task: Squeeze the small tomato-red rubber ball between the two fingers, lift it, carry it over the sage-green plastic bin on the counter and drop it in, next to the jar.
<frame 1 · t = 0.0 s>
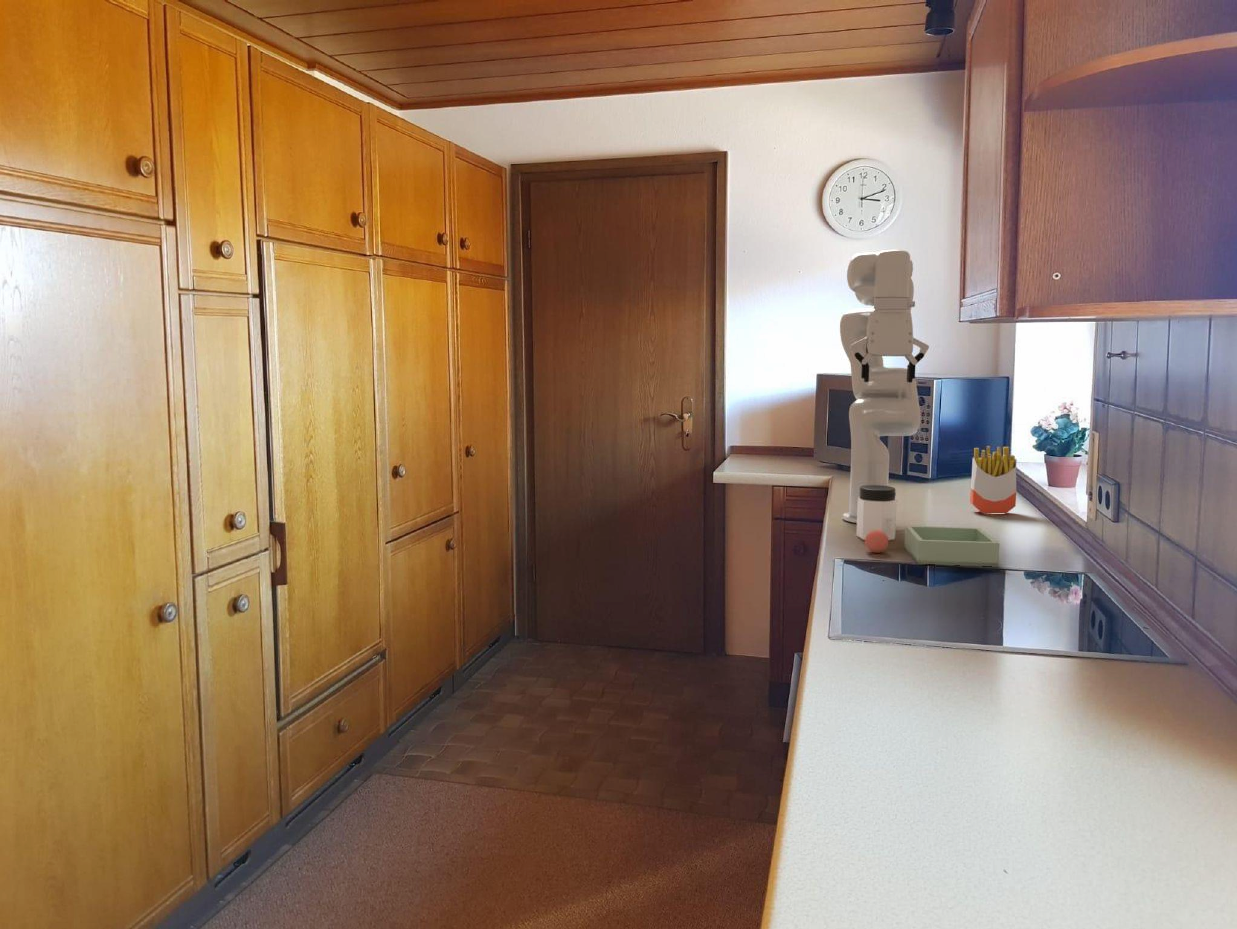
hand: (887, 382, 213), 37 cm above the countertop, tool pointing down, fingers open, 9 cm apart
tomato ball: (876, 541, 204), point 2 cm above the countertop
french fries container: (992, 513, 252), on the countertop
jar: (875, 538, 220), on the countertop
green bin: (949, 556, 200), on the countertop
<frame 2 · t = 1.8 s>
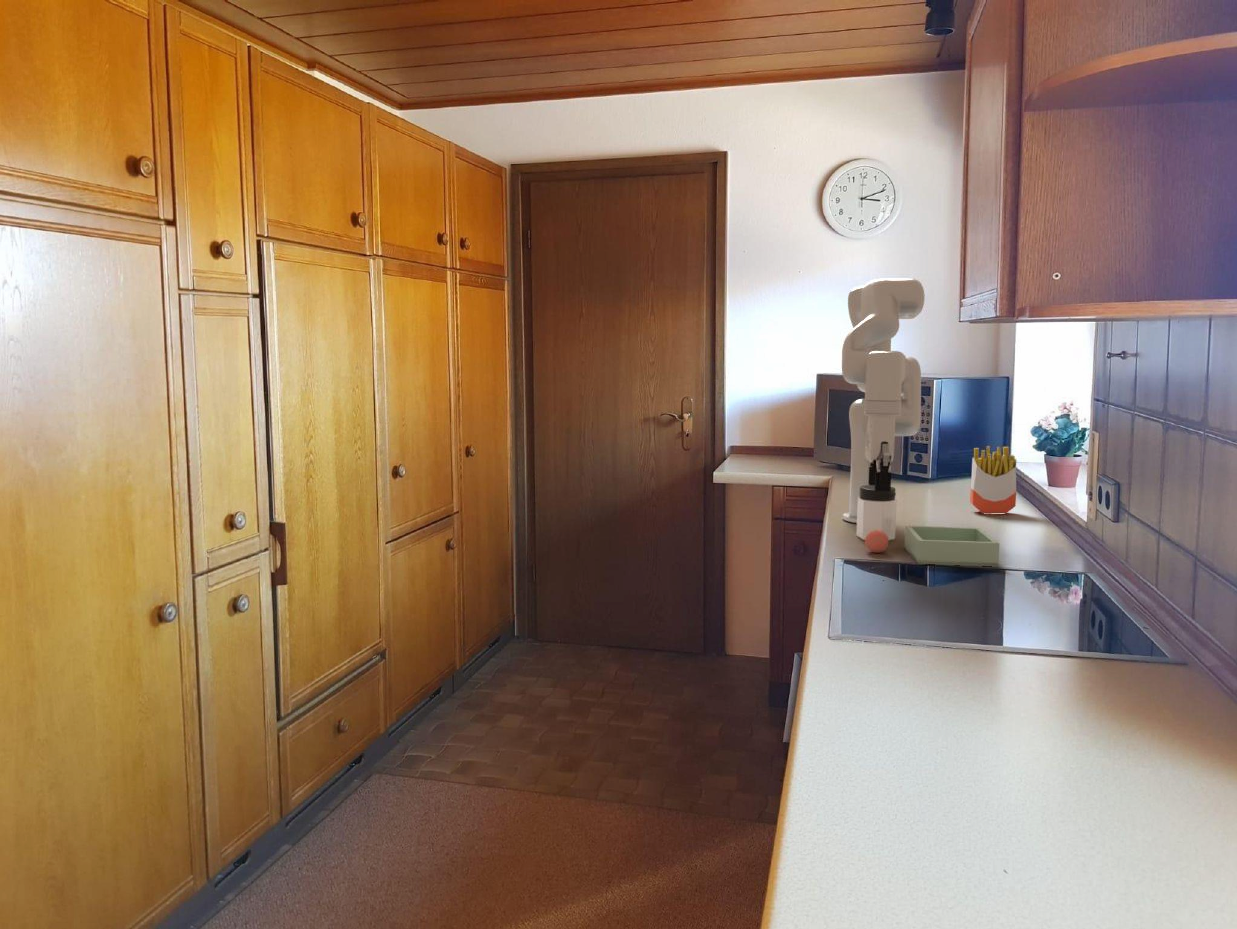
hand: (879, 487, 202), 14 cm above the countertop, tool pointing down, fingers open, 9 cm apart
nothing on the countertop moved.
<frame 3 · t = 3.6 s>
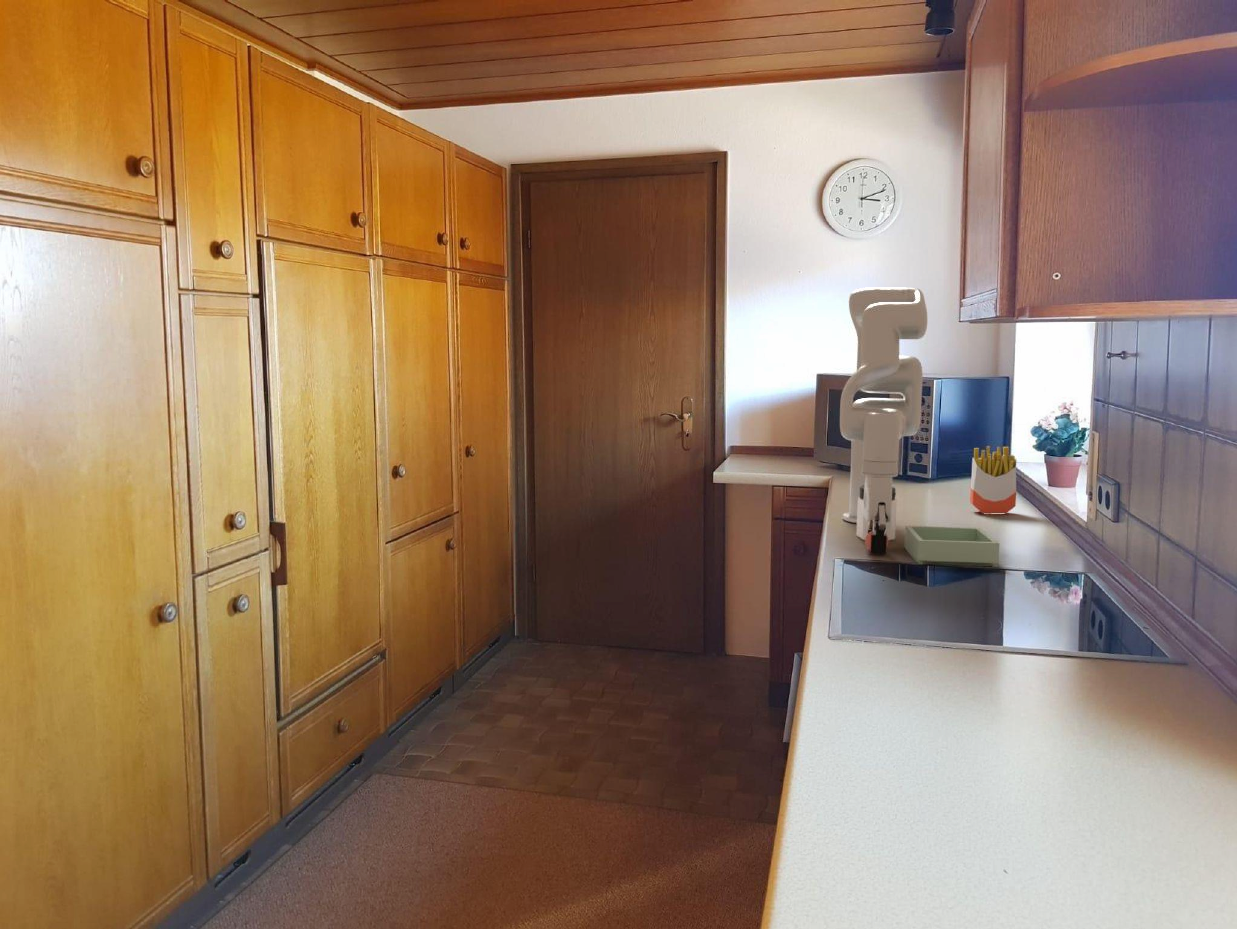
hand: (876, 549, 204), 1 cm above the countertop, tool pointing down, fingers closed on tomato ball, 4 cm apart
tomato ball: (876, 541, 204), point 2 cm above the countertop, touching gripper
everything else where it was.
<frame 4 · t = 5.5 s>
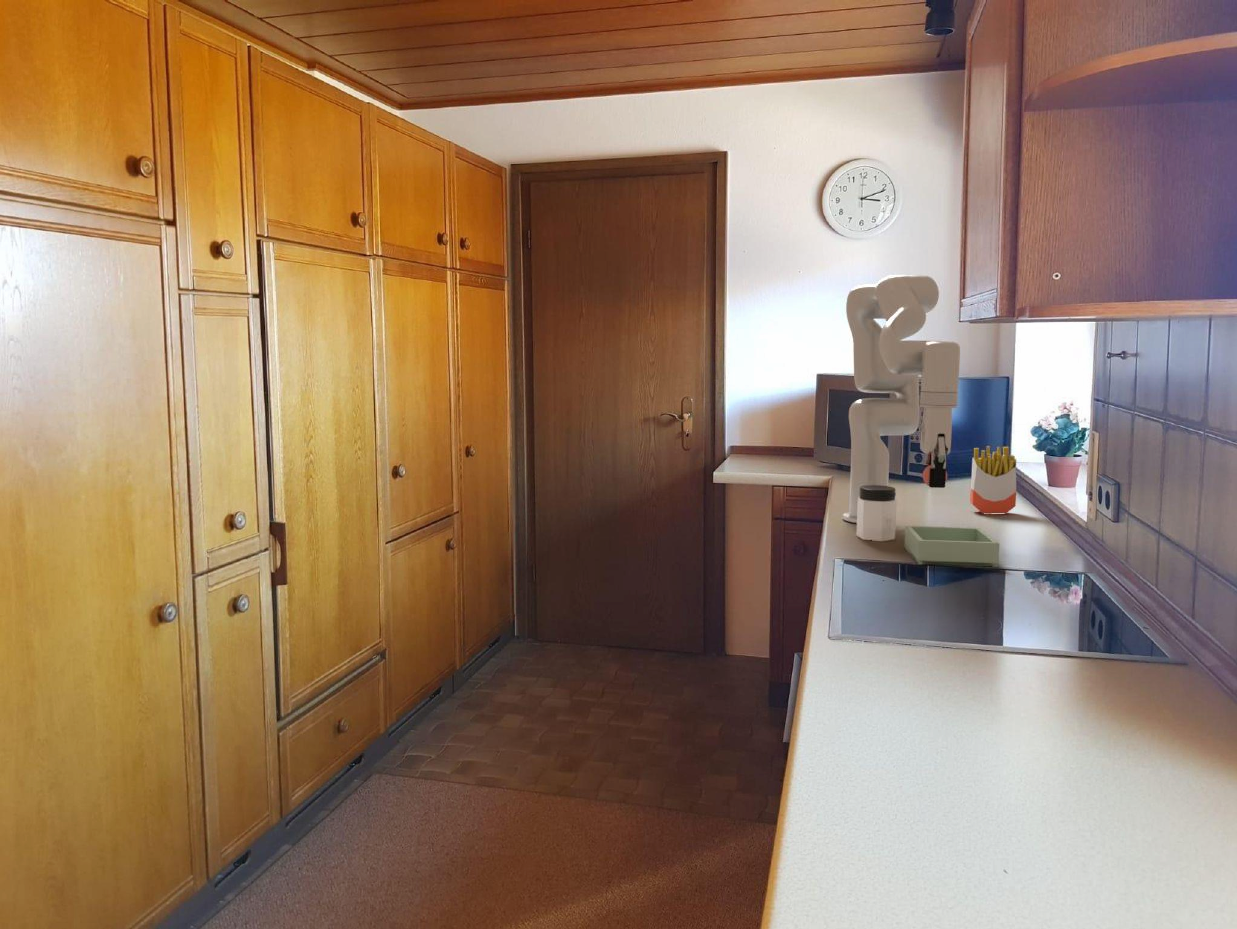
hand: (934, 484, 199), 16 cm above the countertop, tool pointing down, fingers closed on tomato ball, 4 cm apart
tomato ball: (934, 476, 199), point 17 cm above the countertop, touching gripper
everything else where it was.
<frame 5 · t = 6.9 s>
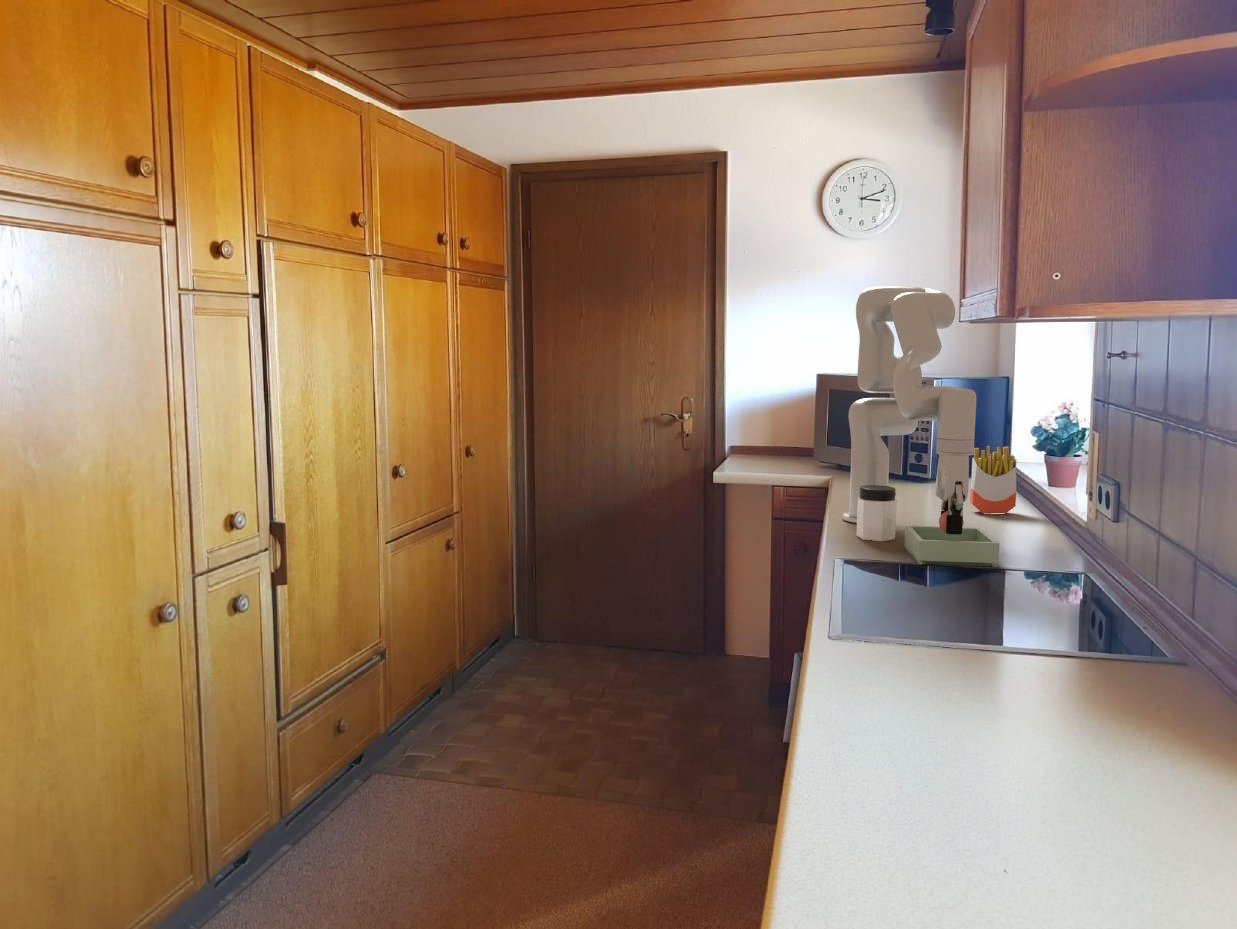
hand: (950, 530, 200), 6 cm above the countertop, tool pointing down, fingers closed on tomato ball, 4 cm apart
tomato ball: (951, 522, 199), point 8 cm above the countertop, touching gripper
everything else where it was.
when the fingers open (5 cm above the countertop, at t = 7.7 s): tomato ball drops 4 cm, resting on green bin.
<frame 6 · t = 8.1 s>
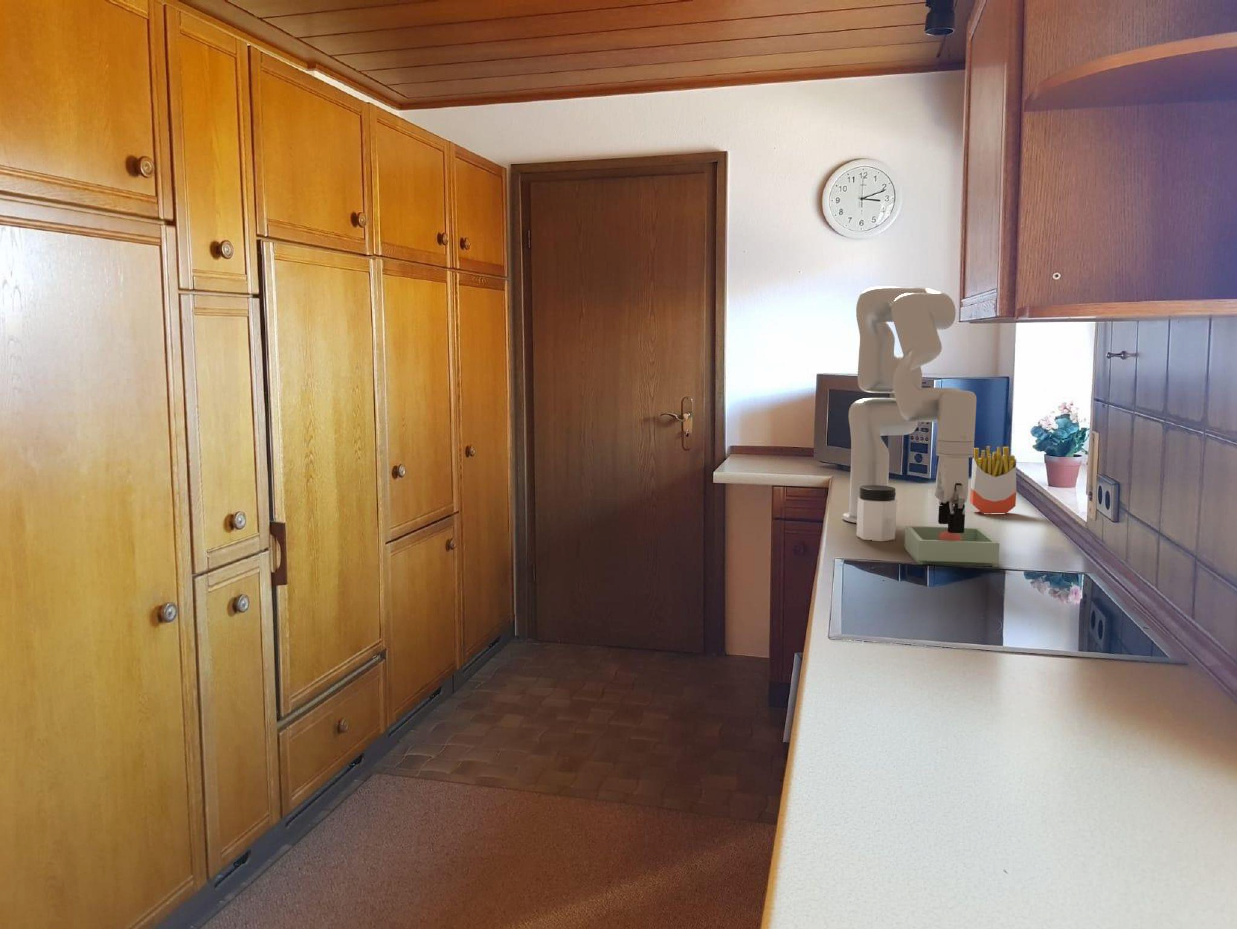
hand: (950, 528, 200), 6 cm above the countertop, tool pointing down, fingers open, 9 cm apart
tomato ball: (949, 541, 200), point 3 cm above the countertop, touching green bin
everything else where it was.
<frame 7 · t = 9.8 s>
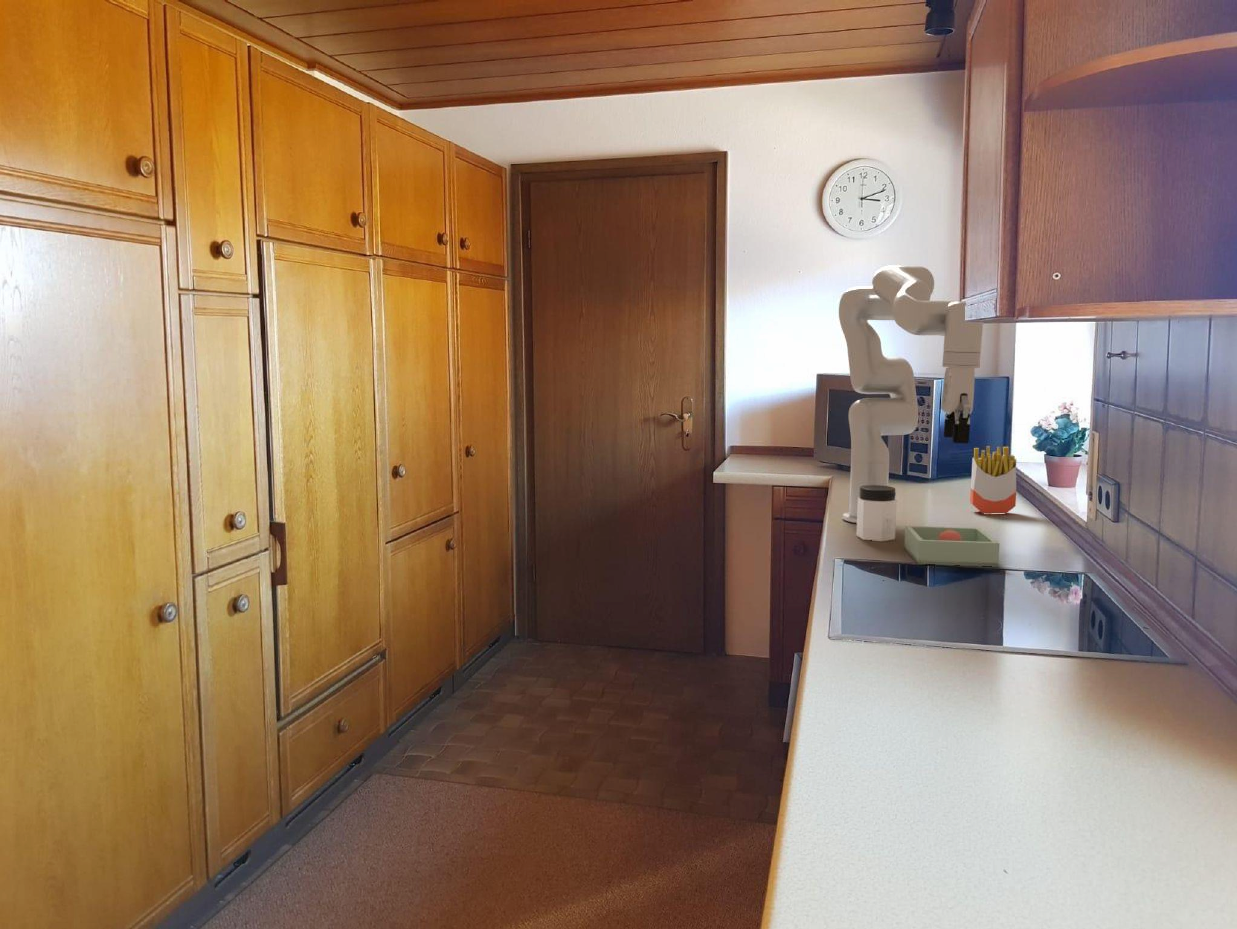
hand: (955, 440, 201), 25 cm above the countertop, tool pointing down, fingers open, 9 cm apart
nothing on the countertop moved.
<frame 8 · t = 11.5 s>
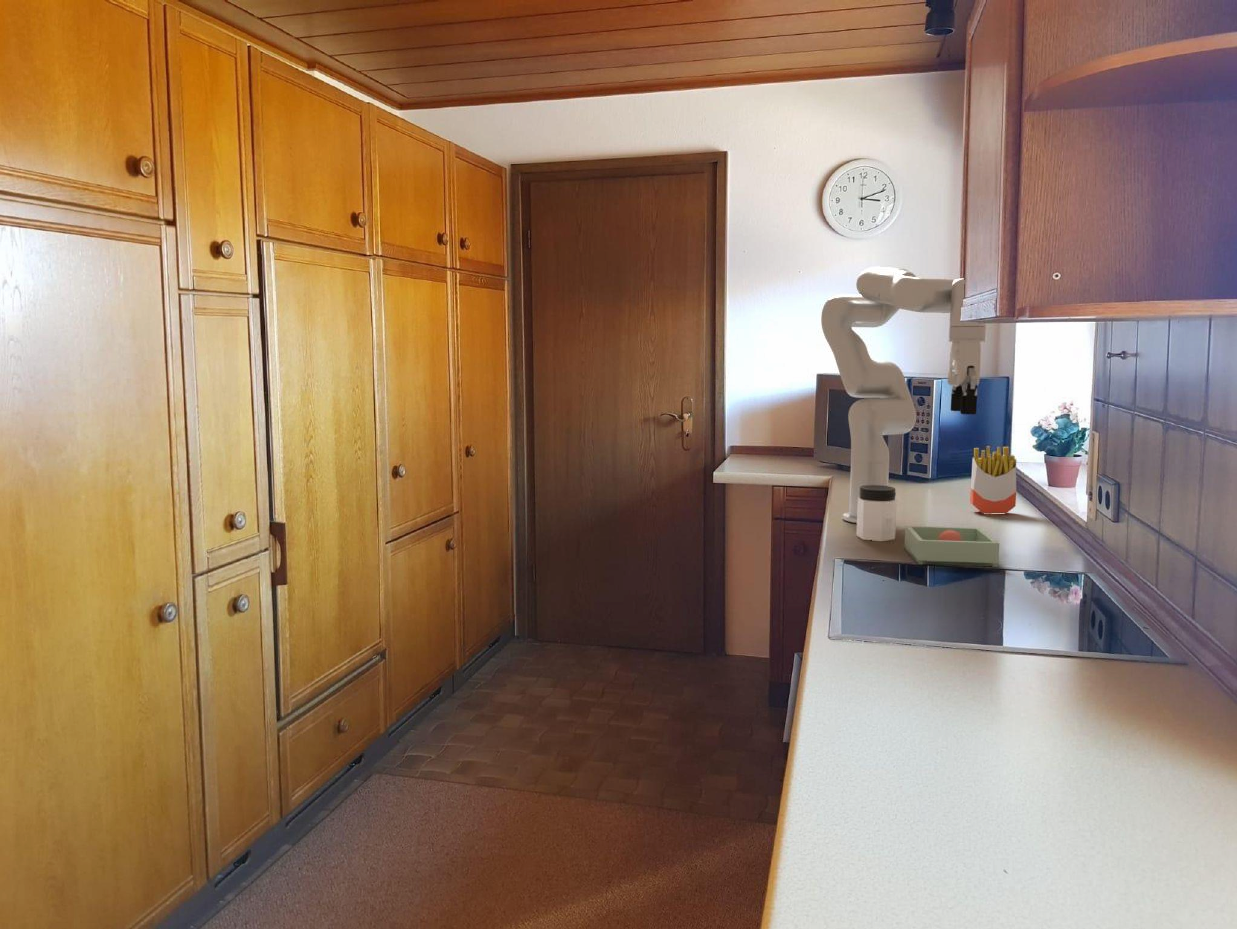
hand: (963, 412, 208), 30 cm above the countertop, tool pointing down, fingers open, 9 cm apart
nothing on the countertop moved.
at the end: tomato ball inside the target area on the green bin (0.1 cm from its centre), point 3.3 cm above the green bin's base; the gripper is holding nothing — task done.
